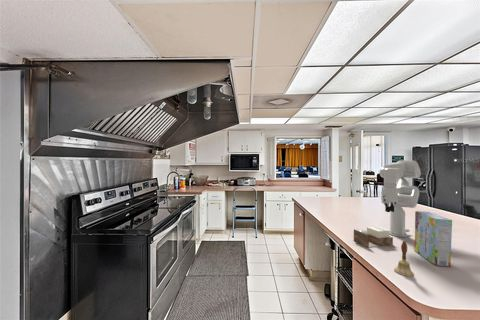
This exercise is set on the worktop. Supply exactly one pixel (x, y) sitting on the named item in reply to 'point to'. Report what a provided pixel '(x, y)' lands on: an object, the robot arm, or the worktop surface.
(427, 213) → the snack box
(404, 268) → the hand bell
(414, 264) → the worktop surface
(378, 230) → the carton
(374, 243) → the podium
